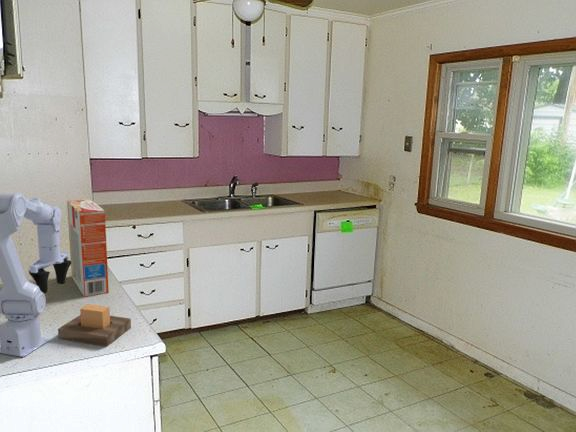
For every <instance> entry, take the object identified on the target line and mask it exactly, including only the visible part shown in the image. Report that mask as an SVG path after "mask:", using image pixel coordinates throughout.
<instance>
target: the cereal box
mask: <svg viewBox="0 0 576 432" xmlns="http://www.w3.org/2000/svg"><path fill="white" fill-rule="evenodd" d="M66 206H67V221H68V236H69V237H68V238H69V256H70V261H71V265H70V267H71V272H70V273H71V277H72V279H73V281H74V283H75V284H76V286H77V287H78V289H79V290H80V292H81V294H82V296H83V297H84V298H87V297H93V296H98V295H105V294H109V271H108V270H109V269H108V250H107V249H108V248H107V231H106V230H107V228H106V211H105V210H104V208H102V207H101V206H99V205H98V204H97V203H96V202H94V201H93V200H92V199H90V198H86V199H73V200H66Z"/></svg>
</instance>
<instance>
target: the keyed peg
mask: <svg viewBox="0 0 576 432" xmlns="http://www.w3.org/2000/svg"><path fill="white" fill-rule="evenodd" d="M79 309H80V310H79V311H80V314H79V315H81V326H85V327H91V328H98V329H104V328H106V327H107V326H108V325H110V316H111V314H110V307H109V306H106V305H105V306H104V305H97V304H89V303H88V304H86V305H84V306H83V307H81V308H79Z"/></svg>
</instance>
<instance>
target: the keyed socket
mask: <svg viewBox="0 0 576 432" xmlns="http://www.w3.org/2000/svg"><path fill="white" fill-rule="evenodd" d="M131 328H132V320H131V318H127V317H123V316H116V315H110V325H108V326H107V327H106V328H104V329H98V328H91V327H85V326H81V314H79V315H77V316H76V317H74V318H72V319H71V320H69V321H68V322H66V323H64V324H63V325H61V326H60V327H59V328H57V335H58V339H59V340H64V341H70V342H77V343H84V344H90V345H95V346H101V347H105V348H107V347H109V346H110V345H111V344H113V343H114V342H115V341H116V340H117V339H119V338H120V337H122V336H123V335H124V334H125V333H126V332H128V331H129V330H130V329H131Z"/></svg>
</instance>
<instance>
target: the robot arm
mask: <svg viewBox="0 0 576 432" xmlns="http://www.w3.org/2000/svg"><path fill="white" fill-rule="evenodd" d="M62 217H63V216H62V211H61V209H60V208H59V207H57V206H56V205H49V204H48V203H47V202H42V201H41V199H40V198H37V197H36V198H35V197H34V198H32V199H27V198H26V197H25V194H22V193H20V192H19V193H18V192H17V193H0V281H1V282H2V285H3V287H2V288H1V289H0V314H1V315H3V316H4V318H5V319H7V320H6V322H5V323H4V324H3V325H1V326H0V354H4V355H8V356H15V357H21V358H24V357H26V356H28V355H29V354H30V353H33V352H34V351H36V350H37V349H38V348H40V347H42V346H43V345H45V344H46V343H48V342H49V341H50V340H49V339H48V338H43V337H42V336H41V335H42V334H41V333H42V332H41V323H40V315H41V314H42V313H43V312H44V311H45V308H46V301H47V298H46V295H45V294H46V293H48V290H49V289H48V283H49V281H48V280H49V276H50V273H51V272H50V271H47V270H46V268H49V267H50V266H53V268H54V273H55V278H56V279H55V280H56V282H57V284H59V285H64V284H65V283H66V278H67V275H68V271H69V268H70V267H71V256H70V252H66V251H65V252H61V245H60V244H61V241H60V230H61V221H62ZM23 218H25V219H26V220H29V221H32V224H33V225H34V226H36V231H37V244H38V245H37V246H38V255H39V259H38V260H37V261H35V262H34V263H33V264H31V265H29V269H28V274H29V275H30V276H31V278H32V279H33V281H34V282H35V283H32V282H30V281H28V278H27V276H26V273H25V271H24V267H23V266H22V262H21V260H20V258H19V254H18V252H17V249H16V246H15V245H14V240H13V238H12V234H14V233H16V232H18V231H19V229H20V226H21V224H22V222H23Z"/></svg>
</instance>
